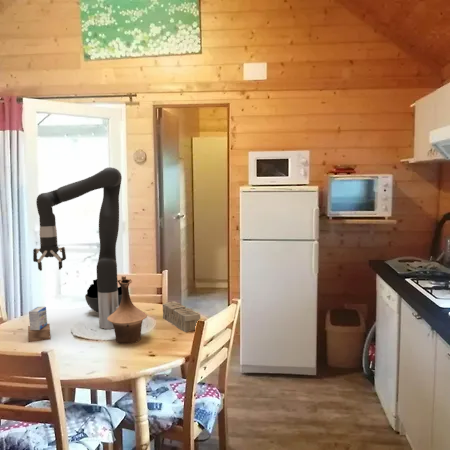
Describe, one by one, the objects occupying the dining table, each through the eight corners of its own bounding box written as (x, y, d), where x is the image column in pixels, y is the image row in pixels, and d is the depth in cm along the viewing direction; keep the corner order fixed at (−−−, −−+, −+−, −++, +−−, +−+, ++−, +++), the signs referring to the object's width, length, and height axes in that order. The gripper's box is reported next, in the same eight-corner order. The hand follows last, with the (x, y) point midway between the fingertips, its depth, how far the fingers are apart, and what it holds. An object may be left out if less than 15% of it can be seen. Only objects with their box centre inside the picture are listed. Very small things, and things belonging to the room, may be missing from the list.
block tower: (162, 319, 246) (185, 333, 221) (161, 303, 246) (184, 315, 220) (176, 317, 250) (201, 330, 224) (175, 300, 249) (200, 312, 224)
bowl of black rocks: (117, 305, 271) (116, 272, 269) (130, 313, 254) (129, 278, 252) (81, 311, 260) (79, 276, 258) (92, 320, 243) (90, 283, 241)
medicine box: (39, 330, 213) (38, 311, 213) (29, 330, 214) (28, 311, 213) (47, 325, 221) (46, 306, 220) (37, 325, 222) (36, 306, 221)
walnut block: (50, 334, 224) (49, 323, 224) (50, 340, 216) (49, 329, 215) (28, 336, 221) (28, 326, 220) (28, 343, 213) (28, 331, 212)
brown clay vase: (105, 336, 218) (102, 274, 215) (143, 331, 224) (140, 271, 222) (111, 349, 202) (108, 282, 199) (152, 343, 208) (149, 278, 205)
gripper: (65, 234, 233) (67, 267, 234) (33, 235, 230) (35, 269, 232) (63, 235, 225) (65, 270, 227) (30, 237, 223) (32, 272, 224)
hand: (50, 269), depth 229 cm, fingers open, 8 cm apart
